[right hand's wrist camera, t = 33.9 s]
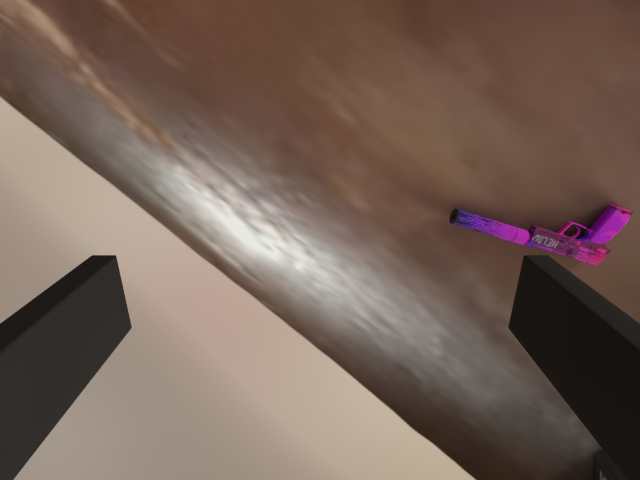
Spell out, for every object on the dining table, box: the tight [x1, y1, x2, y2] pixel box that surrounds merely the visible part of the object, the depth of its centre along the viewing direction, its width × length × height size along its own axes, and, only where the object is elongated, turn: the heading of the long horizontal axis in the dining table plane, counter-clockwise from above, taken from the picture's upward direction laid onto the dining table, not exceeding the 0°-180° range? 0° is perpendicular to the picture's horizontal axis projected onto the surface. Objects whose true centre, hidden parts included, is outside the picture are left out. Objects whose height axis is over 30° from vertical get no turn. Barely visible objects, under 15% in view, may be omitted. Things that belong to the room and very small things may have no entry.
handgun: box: [450, 204, 634, 266], centre depth 46 cm, size 21×8×2 cm, turn 74°
